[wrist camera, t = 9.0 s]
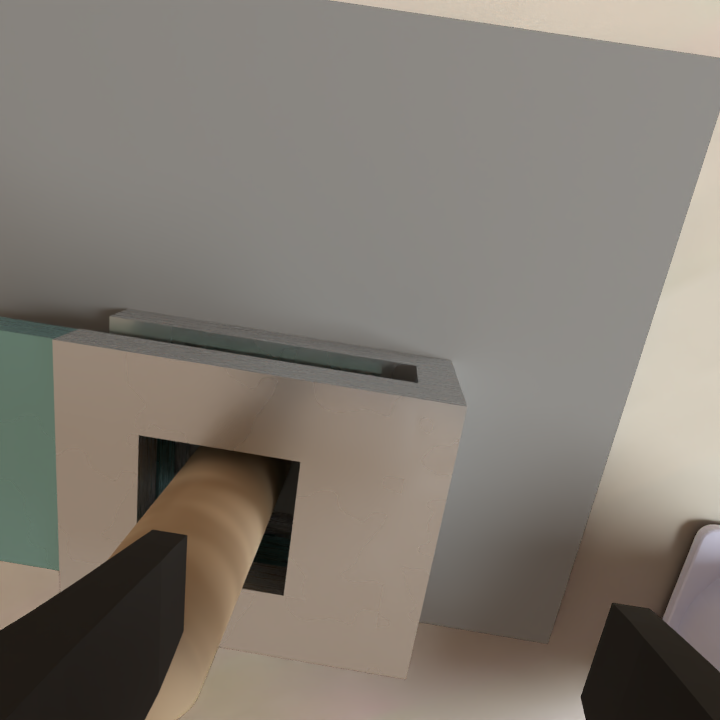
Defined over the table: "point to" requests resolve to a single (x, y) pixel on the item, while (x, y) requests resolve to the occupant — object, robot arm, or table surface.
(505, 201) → the rubber mat
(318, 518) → the peg hole fixture
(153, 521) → the maple pin
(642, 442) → the table surface
